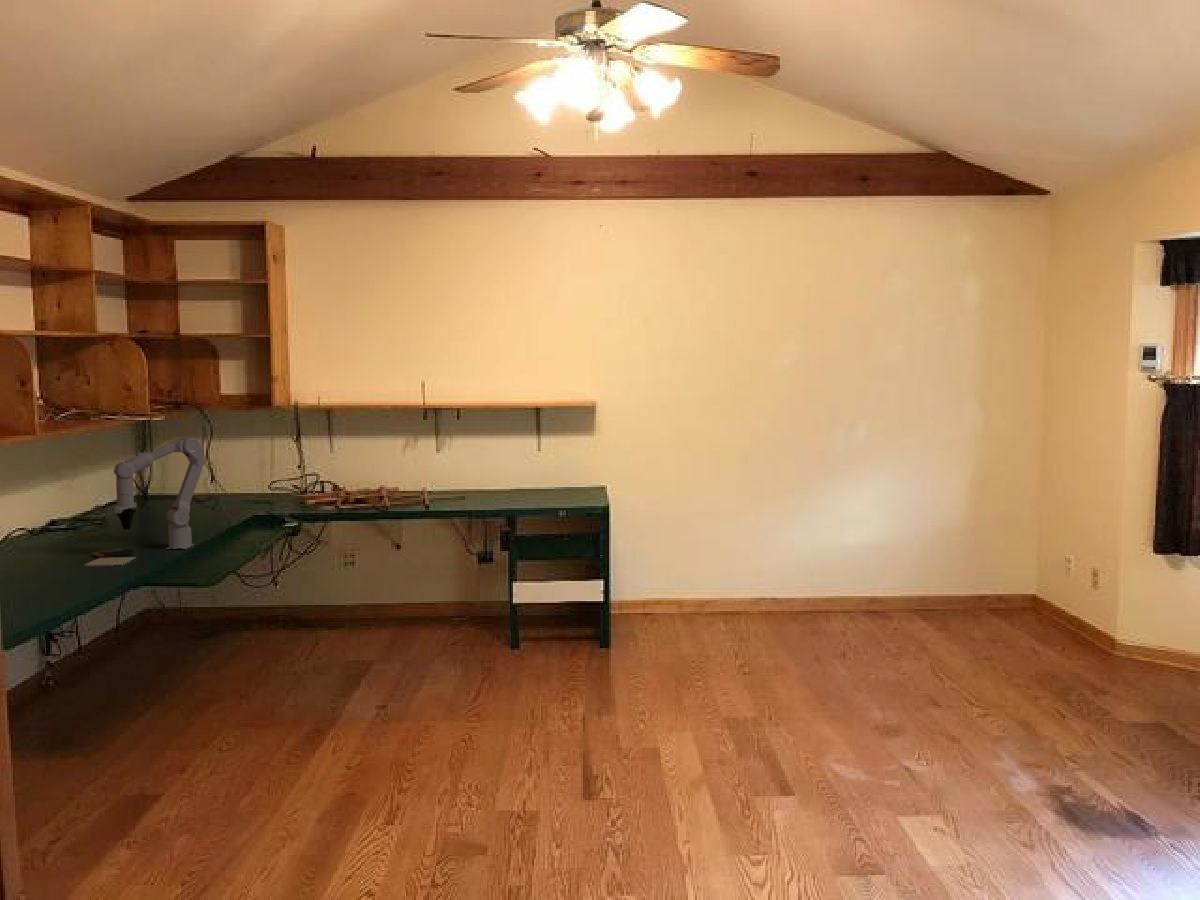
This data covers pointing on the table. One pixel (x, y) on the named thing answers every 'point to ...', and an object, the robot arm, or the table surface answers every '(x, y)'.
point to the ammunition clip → (113, 553)
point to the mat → (110, 561)
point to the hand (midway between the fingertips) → (126, 529)
